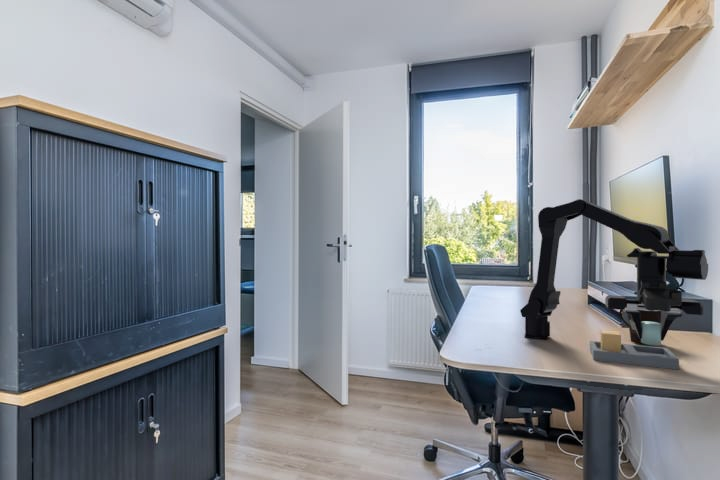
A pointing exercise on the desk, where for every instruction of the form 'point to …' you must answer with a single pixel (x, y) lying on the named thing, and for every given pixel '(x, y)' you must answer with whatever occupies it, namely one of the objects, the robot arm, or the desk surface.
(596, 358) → the organizer
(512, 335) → the desk surface
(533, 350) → the desk surface
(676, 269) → the robot arm
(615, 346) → the ochre block
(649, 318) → the coffee mug
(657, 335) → the teal capsule
